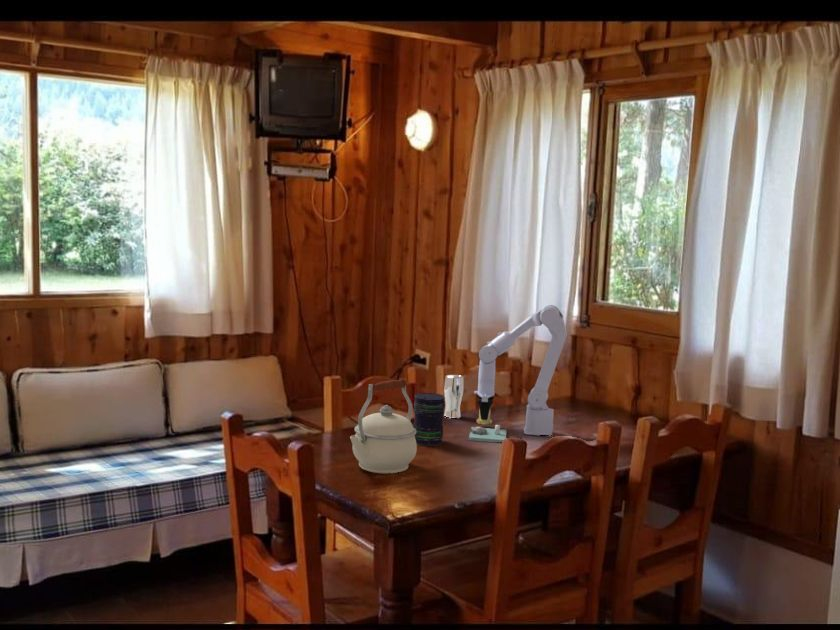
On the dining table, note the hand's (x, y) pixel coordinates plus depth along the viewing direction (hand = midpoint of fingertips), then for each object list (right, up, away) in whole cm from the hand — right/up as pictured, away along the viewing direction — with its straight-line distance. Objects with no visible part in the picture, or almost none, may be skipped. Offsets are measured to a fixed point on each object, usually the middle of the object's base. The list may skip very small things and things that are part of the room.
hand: (484, 418), depth 288 cm
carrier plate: (0, -5, -12) cm, 13 cm away
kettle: (-34, -8, -53) cm, 63 cm away
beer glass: (-11, -1, +14) cm, 17 cm away
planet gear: (0, -2, 0) cm, 2 cm away
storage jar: (-20, -5, -22) cm, 30 cm away
